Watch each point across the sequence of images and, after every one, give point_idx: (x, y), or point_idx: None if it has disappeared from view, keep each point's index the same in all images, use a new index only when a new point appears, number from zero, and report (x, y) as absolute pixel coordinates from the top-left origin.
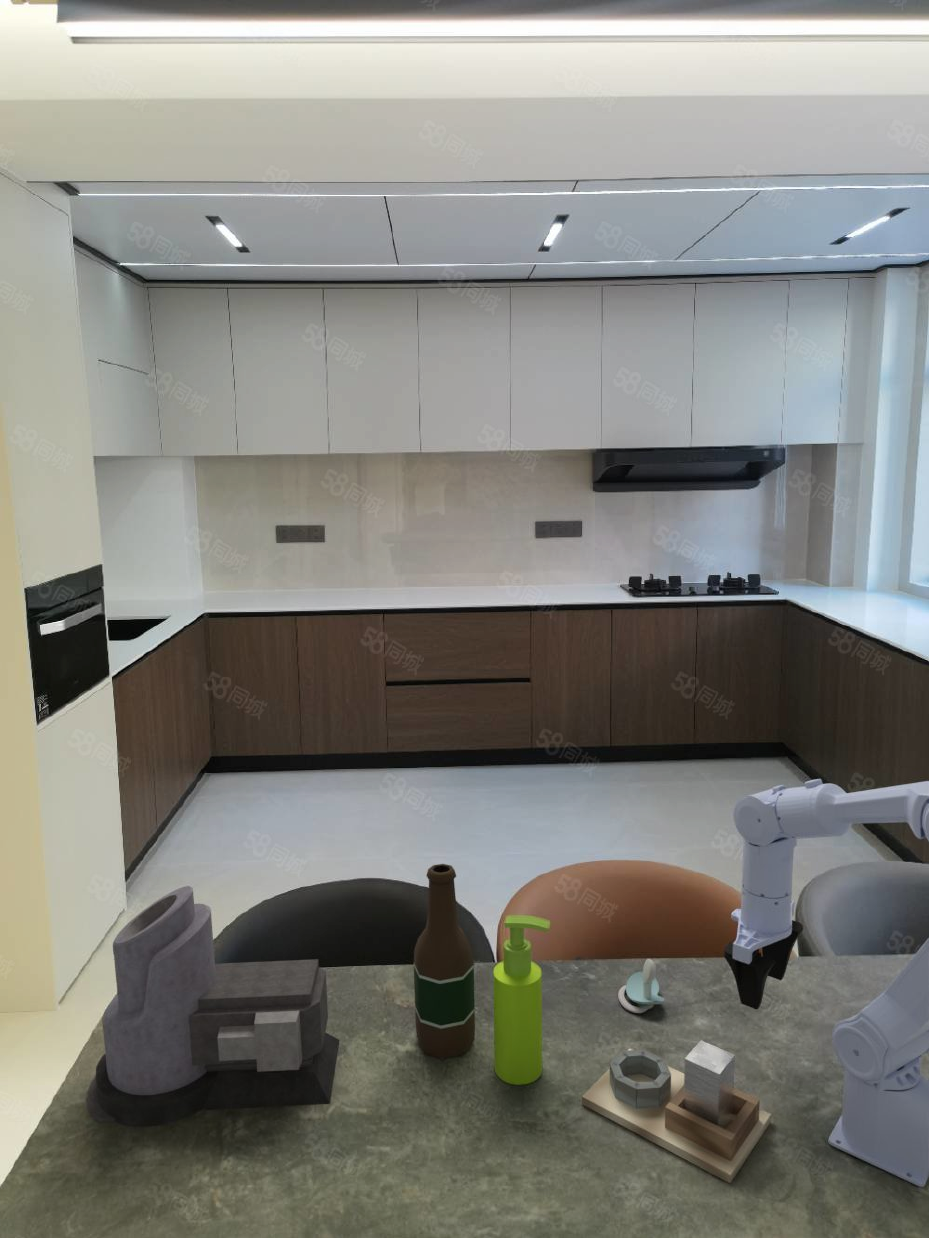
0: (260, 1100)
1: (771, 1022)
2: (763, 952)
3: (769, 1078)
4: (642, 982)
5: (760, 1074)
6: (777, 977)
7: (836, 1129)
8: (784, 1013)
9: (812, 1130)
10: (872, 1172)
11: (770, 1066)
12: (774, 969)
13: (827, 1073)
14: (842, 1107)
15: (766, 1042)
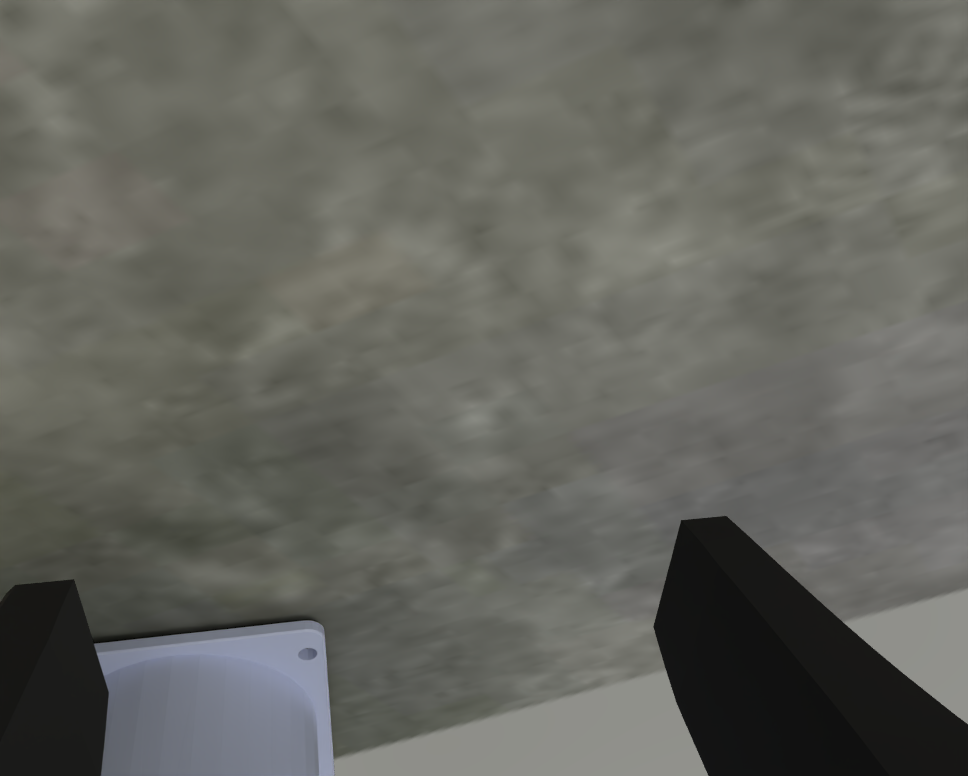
0: None
1: (731, 170)
2: (816, 695)
3: (231, 348)
4: None
5: (226, 304)
6: (663, 619)
7: (101, 660)
8: (848, 195)
9: None
10: None
11: (331, 315)
12: (702, 652)
13: (460, 501)
14: (121, 744)
15: (526, 220)
